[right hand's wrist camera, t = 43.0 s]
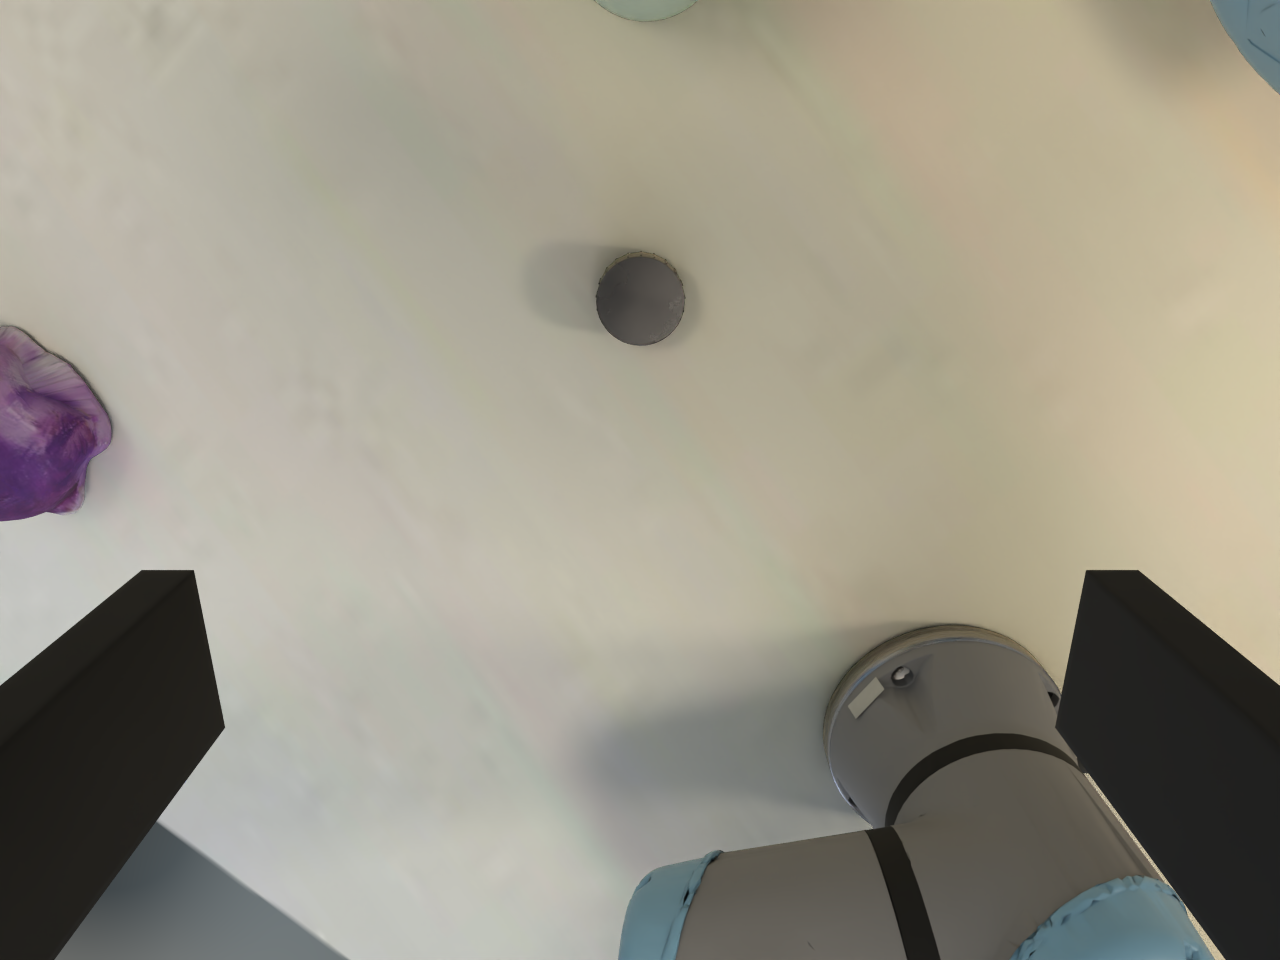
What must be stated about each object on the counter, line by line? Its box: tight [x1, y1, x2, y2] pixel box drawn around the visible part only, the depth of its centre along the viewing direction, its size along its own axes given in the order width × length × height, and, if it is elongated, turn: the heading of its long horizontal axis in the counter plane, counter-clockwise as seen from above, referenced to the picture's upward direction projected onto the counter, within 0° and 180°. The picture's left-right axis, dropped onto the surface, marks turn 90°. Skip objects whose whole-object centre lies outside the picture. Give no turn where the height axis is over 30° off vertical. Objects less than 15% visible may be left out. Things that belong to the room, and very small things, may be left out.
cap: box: [596, 251, 685, 346], centre depth 46 cm, size 5×5×2 cm
